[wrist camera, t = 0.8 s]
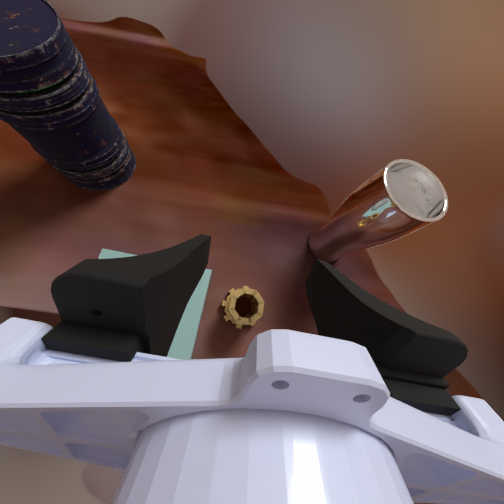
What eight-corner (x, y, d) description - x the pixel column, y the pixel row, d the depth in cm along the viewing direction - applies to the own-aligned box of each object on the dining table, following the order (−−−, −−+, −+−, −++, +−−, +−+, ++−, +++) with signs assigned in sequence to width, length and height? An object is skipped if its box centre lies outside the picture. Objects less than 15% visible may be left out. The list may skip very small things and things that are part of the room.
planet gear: (257, 330, 25) (266, 335, 20) (217, 324, 24) (217, 327, 19) (263, 290, 26) (272, 286, 22) (226, 283, 26) (227, 277, 21)
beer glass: (344, 268, 30) (458, 231, 16) (304, 260, 29) (386, 213, 15) (343, 230, 32) (442, 167, 18) (306, 222, 31) (378, 149, 17)
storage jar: (151, 162, 29) (89, 28, 15) (100, 203, 26) (-37, 79, 12) (101, 128, 30) (-2, -34, 16) (45, 165, 26) (-150, 0, 12)
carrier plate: (188, 368, 22) (182, 379, 18) (61, 351, 20) (26, 360, 17) (211, 271, 26) (210, 264, 22) (107, 250, 24) (86, 240, 21)
